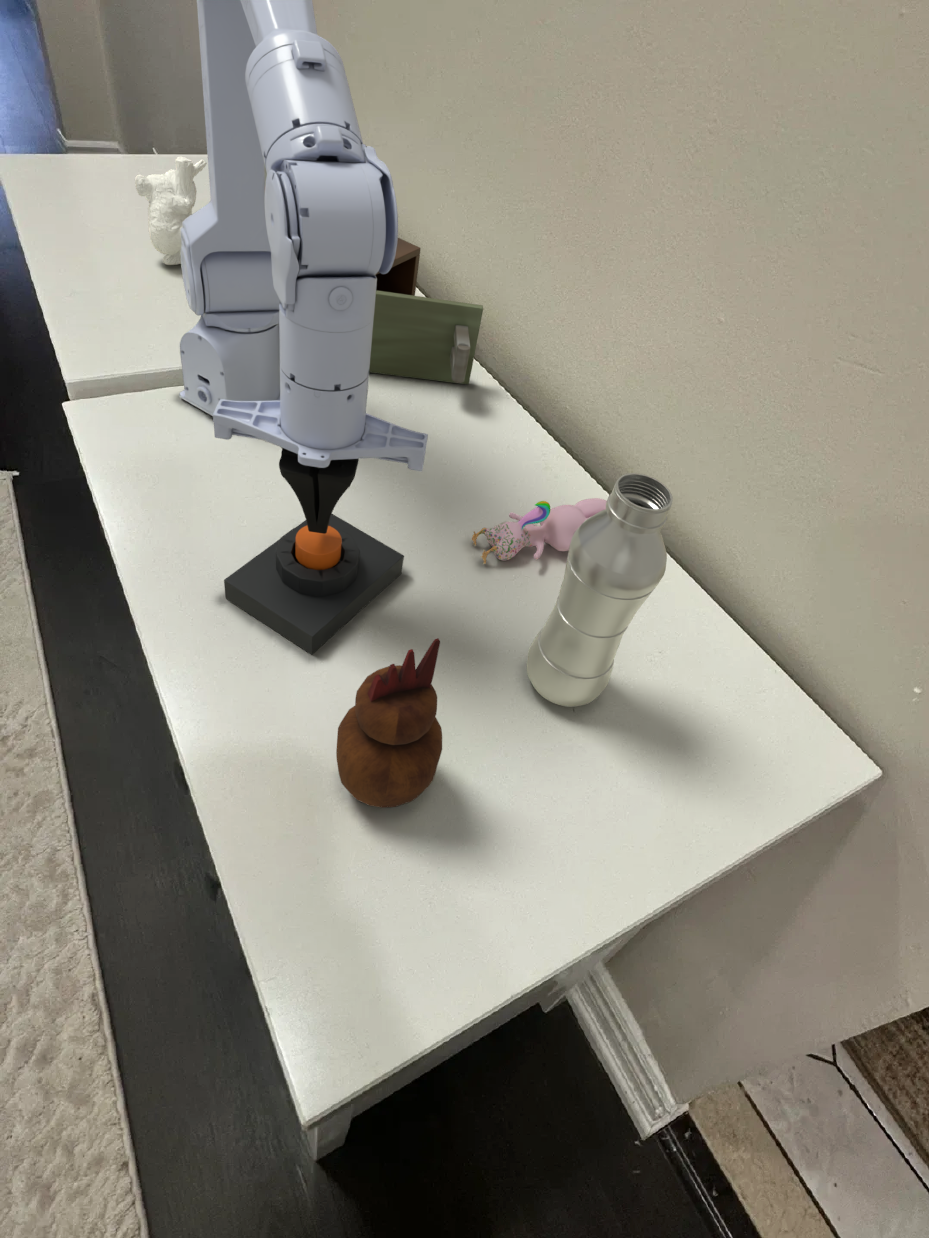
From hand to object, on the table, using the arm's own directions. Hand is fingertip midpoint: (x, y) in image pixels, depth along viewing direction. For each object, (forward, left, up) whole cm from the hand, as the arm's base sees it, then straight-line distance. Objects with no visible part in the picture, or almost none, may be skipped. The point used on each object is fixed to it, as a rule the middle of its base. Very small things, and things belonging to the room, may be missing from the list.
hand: (319, 524), depth 60 cm
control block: (0, 0, -7) cm, 7 cm away
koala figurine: (+33, +50, -7) cm, 60 cm away
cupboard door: (+30, +12, -7) cm, 33 cm away
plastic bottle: (+5, -21, -7) cm, 23 cm away
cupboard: (+36, +26, -7) cm, 44 cm away
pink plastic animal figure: (+19, -12, -7) cm, 23 cm away
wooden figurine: (-11, -15, -7) cm, 21 cm away
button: (0, 0, -3) cm, 3 cm away
